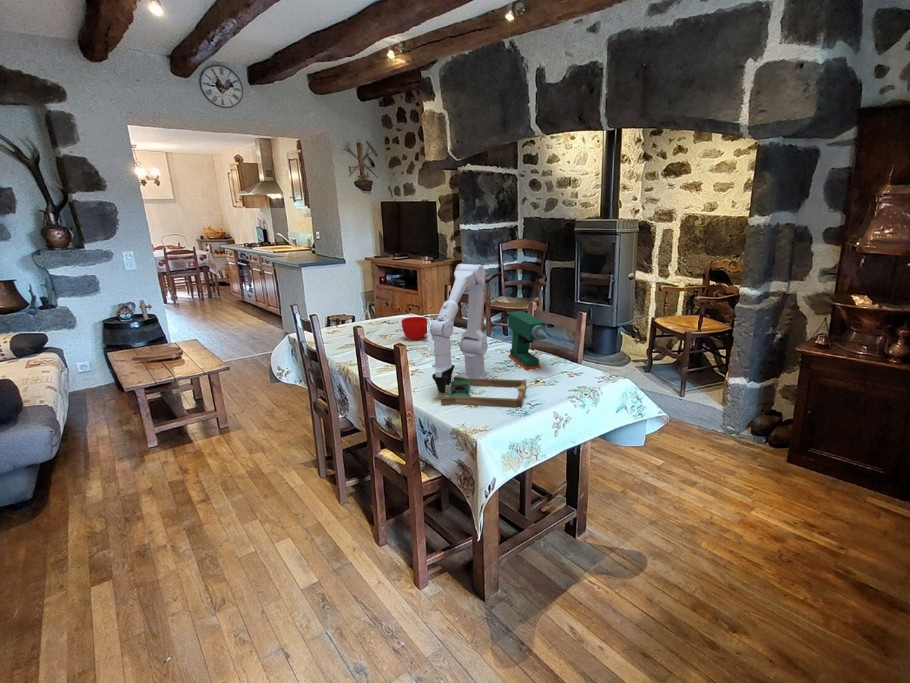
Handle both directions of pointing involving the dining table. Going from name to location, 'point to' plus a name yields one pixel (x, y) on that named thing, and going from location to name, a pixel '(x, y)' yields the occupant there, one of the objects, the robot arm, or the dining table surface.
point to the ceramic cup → (414, 327)
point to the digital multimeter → (460, 388)
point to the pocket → (484, 400)
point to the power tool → (525, 338)
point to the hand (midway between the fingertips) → (444, 388)
